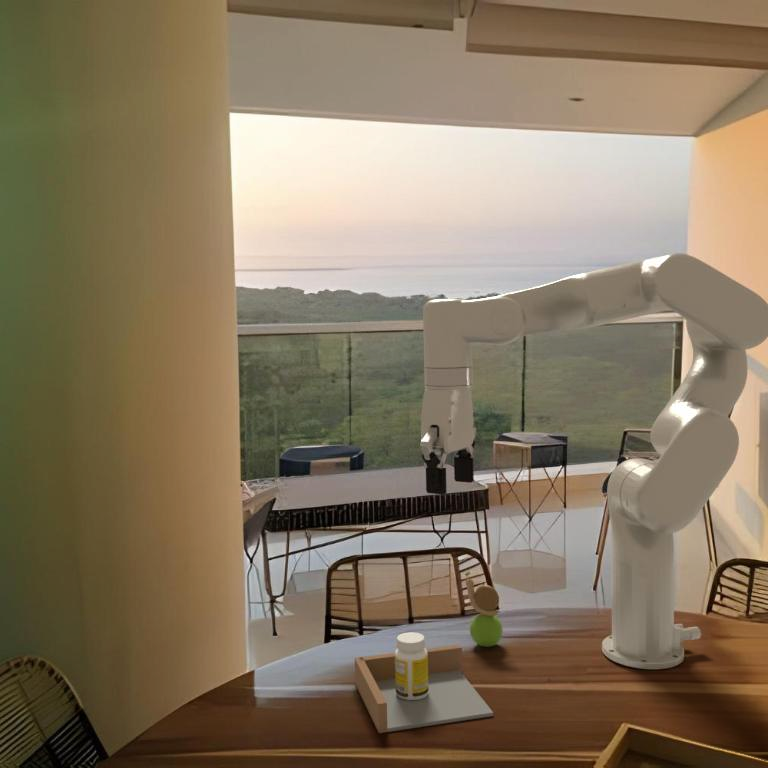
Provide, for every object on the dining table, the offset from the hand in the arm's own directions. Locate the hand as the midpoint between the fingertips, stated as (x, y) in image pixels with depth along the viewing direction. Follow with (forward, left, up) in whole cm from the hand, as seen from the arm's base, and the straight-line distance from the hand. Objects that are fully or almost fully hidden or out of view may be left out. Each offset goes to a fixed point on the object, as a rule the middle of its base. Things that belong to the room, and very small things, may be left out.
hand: (450, 487), depth 124 cm
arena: (+8, +11, -28) cm, 32 cm away
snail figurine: (-7, -5, -28) cm, 30 cm away
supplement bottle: (+10, +10, -28) cm, 31 cm away
